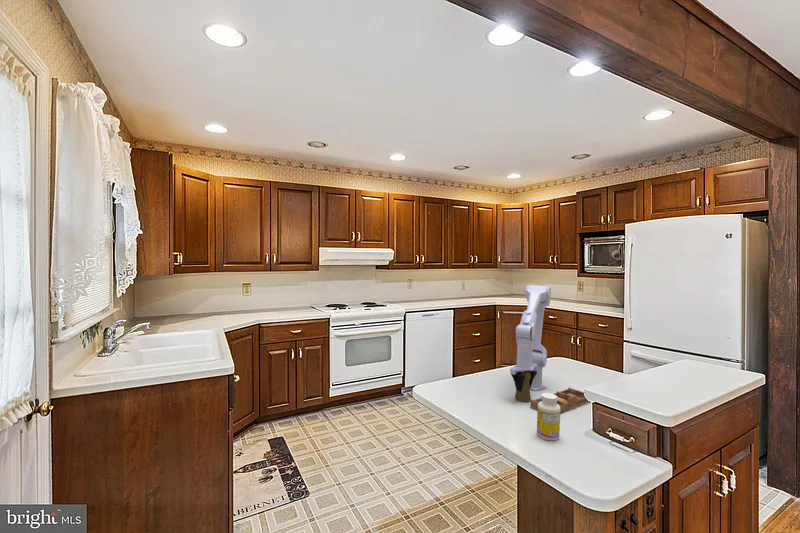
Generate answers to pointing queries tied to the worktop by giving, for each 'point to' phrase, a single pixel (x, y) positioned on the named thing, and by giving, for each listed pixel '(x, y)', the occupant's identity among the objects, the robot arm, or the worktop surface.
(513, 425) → the worktop surface
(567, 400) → the spice rack
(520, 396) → the olive bulbous cylinder
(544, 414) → the supplement bottle
